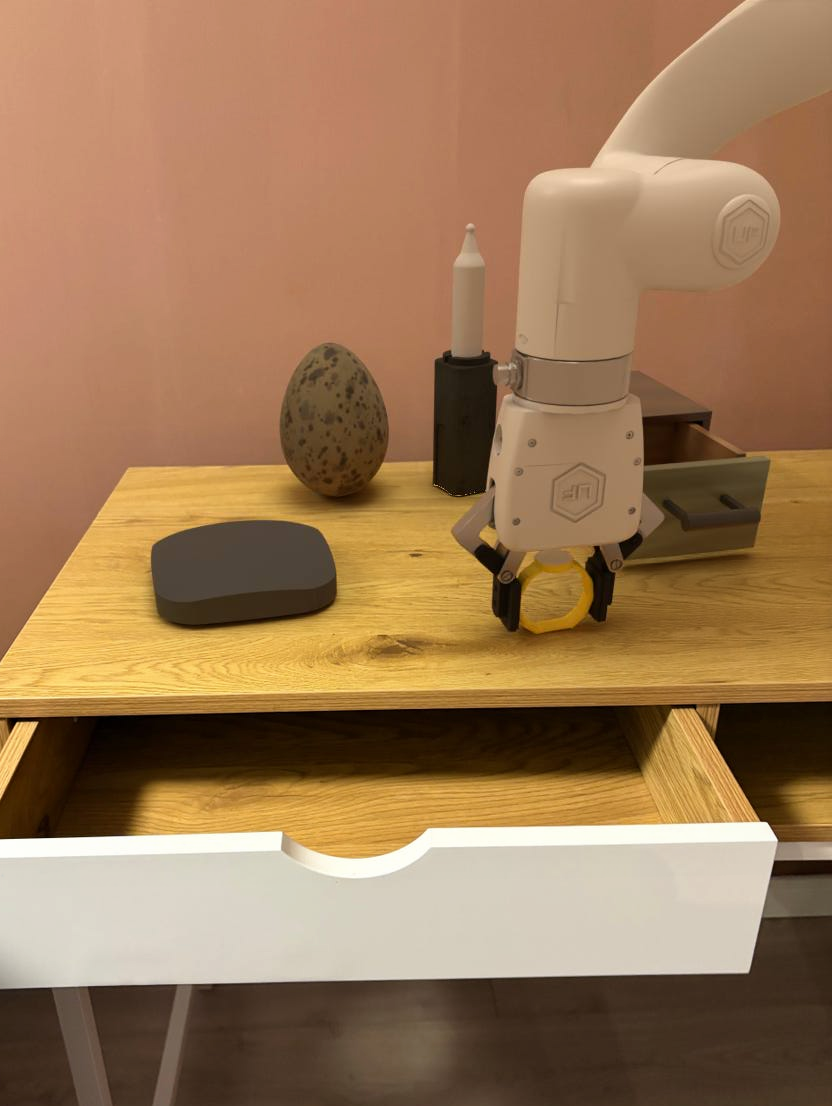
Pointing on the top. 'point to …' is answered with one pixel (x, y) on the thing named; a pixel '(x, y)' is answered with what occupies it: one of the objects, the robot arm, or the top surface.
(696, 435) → the drawer
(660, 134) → the robot arm
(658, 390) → the cabinet
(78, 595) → the top surface
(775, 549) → the top surface
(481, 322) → the candle
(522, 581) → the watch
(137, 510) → the top surface
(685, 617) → the top surface
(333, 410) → the decorative egg
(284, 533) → the media streaming box
